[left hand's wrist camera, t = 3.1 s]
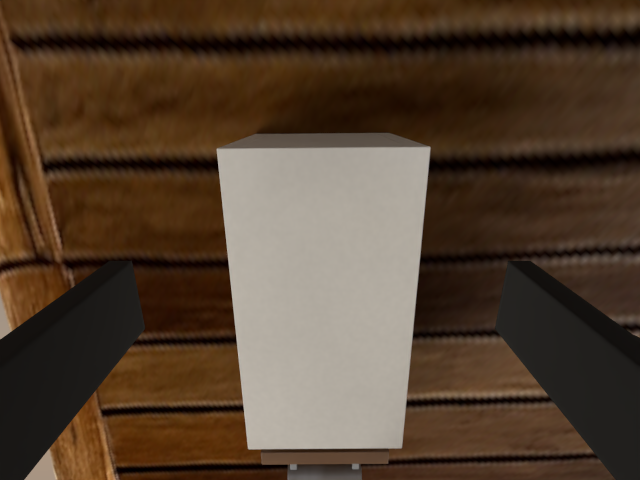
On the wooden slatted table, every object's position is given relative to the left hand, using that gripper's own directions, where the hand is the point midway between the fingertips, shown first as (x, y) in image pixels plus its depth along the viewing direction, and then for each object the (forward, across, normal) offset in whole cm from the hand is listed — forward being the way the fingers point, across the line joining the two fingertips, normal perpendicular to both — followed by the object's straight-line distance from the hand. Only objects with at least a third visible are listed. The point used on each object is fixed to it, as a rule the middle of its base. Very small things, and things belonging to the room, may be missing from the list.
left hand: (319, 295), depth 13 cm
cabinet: (+18, 0, -6) cm, 18 cm away
